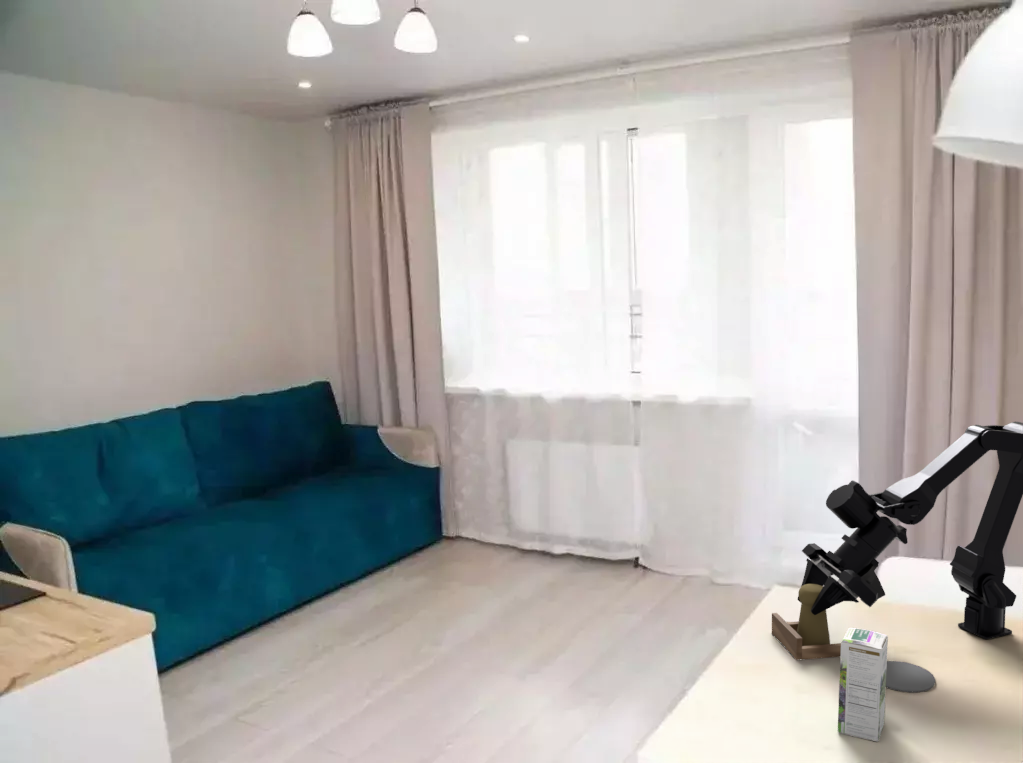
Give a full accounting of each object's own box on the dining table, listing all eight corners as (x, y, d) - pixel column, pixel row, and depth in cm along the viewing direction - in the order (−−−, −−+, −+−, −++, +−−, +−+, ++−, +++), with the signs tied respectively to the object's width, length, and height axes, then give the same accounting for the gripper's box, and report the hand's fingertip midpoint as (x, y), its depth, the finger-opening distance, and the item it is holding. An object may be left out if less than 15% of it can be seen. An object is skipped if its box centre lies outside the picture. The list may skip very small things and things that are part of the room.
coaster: (902, 659, 150) (902, 656, 149) (949, 685, 140) (949, 682, 140) (855, 670, 146) (855, 667, 146) (900, 697, 137) (900, 694, 137)
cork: (825, 637, 159) (826, 580, 158) (834, 651, 153) (835, 592, 152) (792, 636, 160) (792, 579, 158) (799, 651, 154) (800, 592, 152)
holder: (823, 629, 162) (823, 609, 162) (851, 655, 152) (851, 634, 151) (771, 633, 161) (771, 613, 161) (796, 660, 151) (796, 638, 150)
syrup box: (844, 715, 132) (846, 625, 130) (886, 724, 129) (888, 632, 127) (837, 733, 127) (838, 640, 125) (880, 743, 124) (882, 648, 122)
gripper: (924, 591, 147) (861, 658, 148) (869, 555, 165) (812, 614, 166) (881, 550, 145) (817, 617, 146) (830, 518, 164) (773, 578, 164)
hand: (805, 607), depth 155 cm, fingers closed on cork, 5 cm apart
